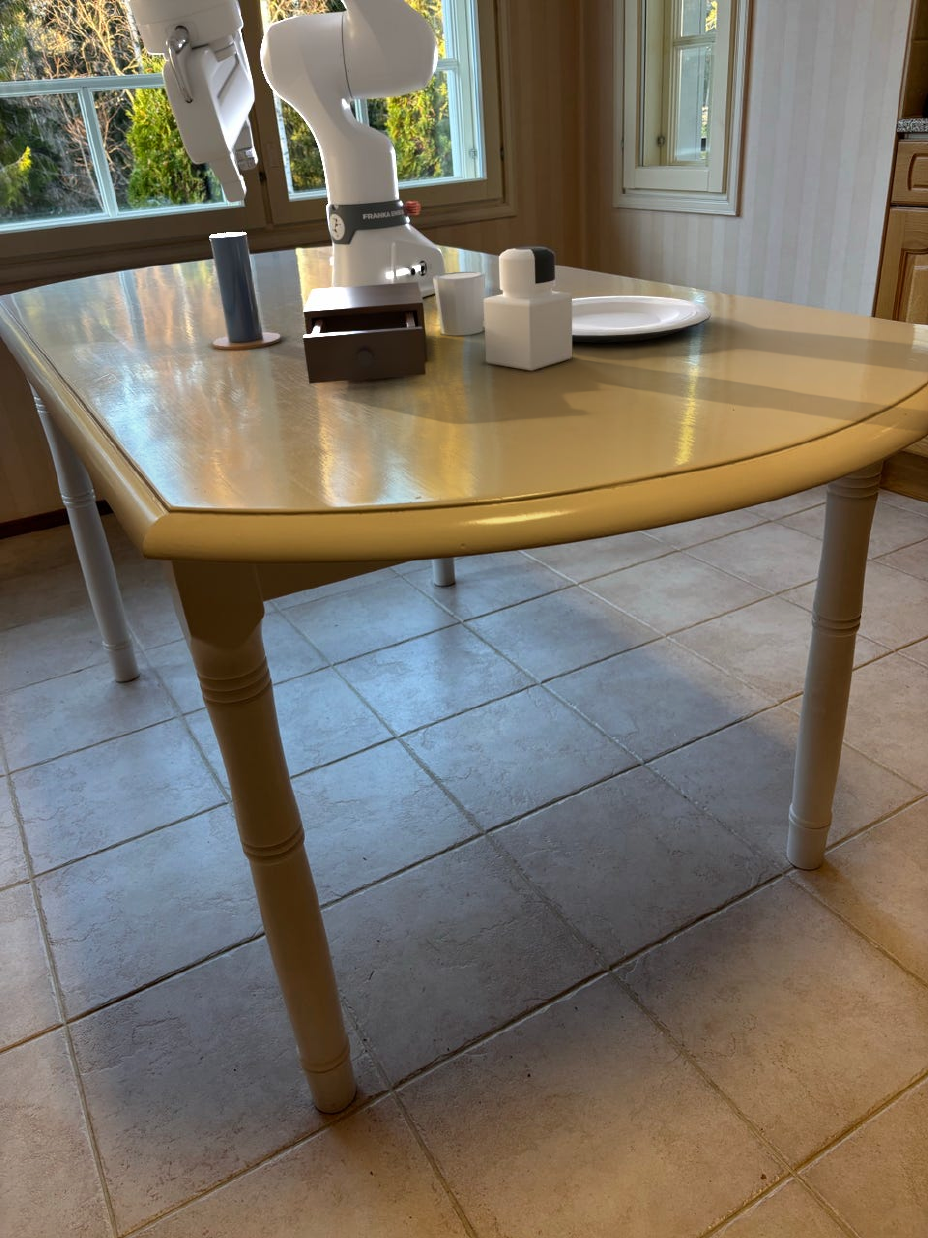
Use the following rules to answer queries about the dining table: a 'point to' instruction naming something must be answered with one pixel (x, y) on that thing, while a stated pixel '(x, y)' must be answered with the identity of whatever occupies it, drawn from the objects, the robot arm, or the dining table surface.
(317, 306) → the cabinet
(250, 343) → the coaster
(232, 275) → the cylinder
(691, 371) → the dining table surface
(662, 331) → the plate
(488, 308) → the medicine bottle
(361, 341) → the drawer
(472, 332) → the white cup
